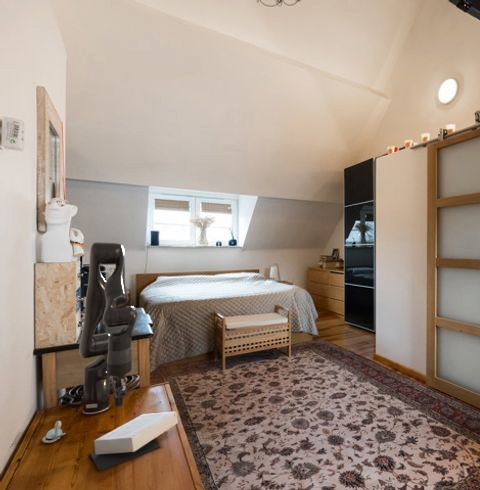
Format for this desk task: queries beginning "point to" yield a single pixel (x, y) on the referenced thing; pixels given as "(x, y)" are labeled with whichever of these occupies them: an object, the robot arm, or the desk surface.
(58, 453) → the desk surface
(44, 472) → the desk surface
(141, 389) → the desk surface
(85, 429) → the desk surface
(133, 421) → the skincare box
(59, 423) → the pacifier
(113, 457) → the dark rubber mat
